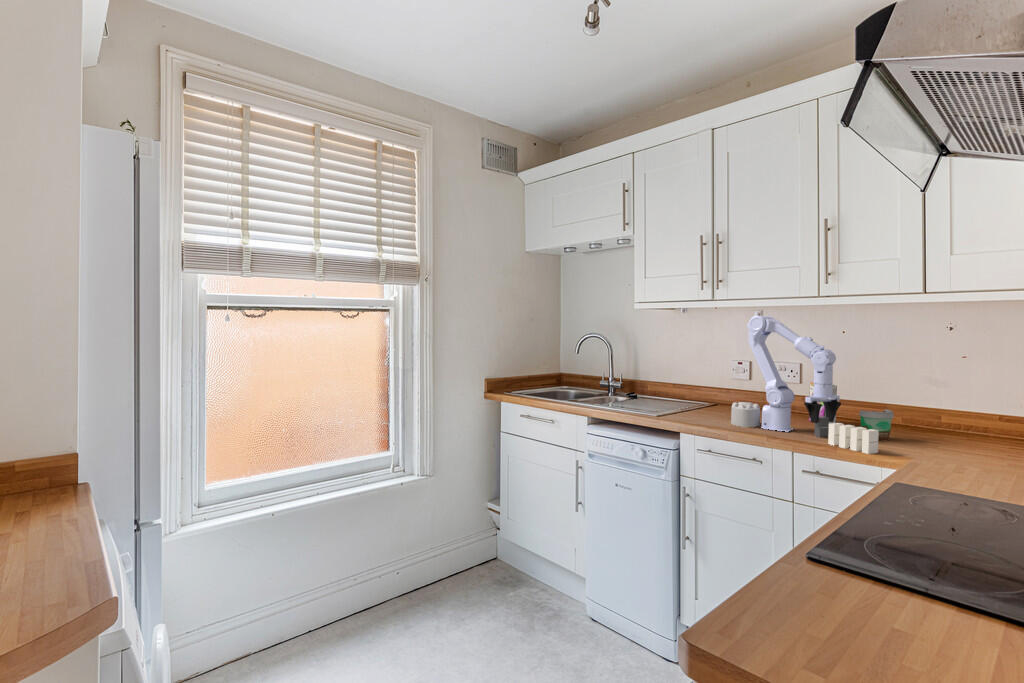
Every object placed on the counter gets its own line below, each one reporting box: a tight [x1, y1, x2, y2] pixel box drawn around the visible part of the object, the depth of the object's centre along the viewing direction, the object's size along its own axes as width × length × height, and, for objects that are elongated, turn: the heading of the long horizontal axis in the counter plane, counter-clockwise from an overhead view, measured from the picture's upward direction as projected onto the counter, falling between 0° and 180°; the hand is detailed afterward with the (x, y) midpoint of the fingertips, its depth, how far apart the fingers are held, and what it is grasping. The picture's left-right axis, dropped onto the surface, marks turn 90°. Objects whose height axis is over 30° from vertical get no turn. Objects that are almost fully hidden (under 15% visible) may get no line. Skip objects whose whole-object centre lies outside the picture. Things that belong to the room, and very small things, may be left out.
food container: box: [858, 408, 895, 441], centre depth 177 cm, size 12×6×10 cm, turn 105°
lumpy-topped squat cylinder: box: [730, 401, 761, 428], centre depth 202 cm, size 10×13×9 cm
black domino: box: [813, 416, 829, 438], centre depth 180 cm, size 2×4×7 cm, turn 111°
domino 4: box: [861, 429, 879, 455], centre depth 158 cm, size 2×4×7 cm, turn 111°
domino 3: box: [849, 426, 867, 452], centre depth 161 cm, size 2×4×7 cm, turn 111°
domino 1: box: [827, 422, 845, 447], centre depth 168 cm, size 2×4×7 cm, turn 111°
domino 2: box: [838, 424, 856, 449], centre depth 165 cm, size 2×4×7 cm, turn 111°
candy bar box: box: [808, 381, 838, 424], centre depth 206 cm, size 11×5×16 cm, turn 179°
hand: (822, 422), depth 180 cm, fingers open, 7 cm apart
